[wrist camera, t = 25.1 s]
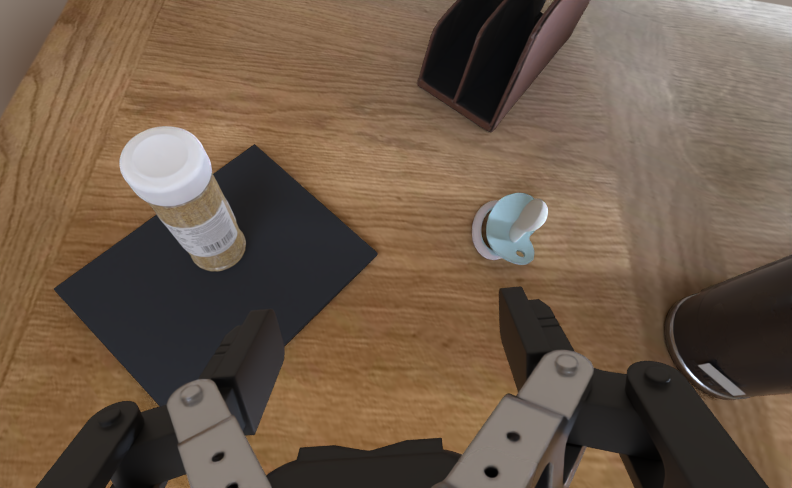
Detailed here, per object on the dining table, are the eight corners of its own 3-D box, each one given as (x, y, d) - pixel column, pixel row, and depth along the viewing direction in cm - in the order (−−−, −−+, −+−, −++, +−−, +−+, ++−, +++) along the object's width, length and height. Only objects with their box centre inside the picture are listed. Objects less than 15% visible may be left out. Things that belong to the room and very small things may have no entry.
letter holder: (568, 39, 54) (642, -84, 41) (490, 135, 46) (550, 21, 33) (502, -1, 55) (553, -132, 43) (414, 86, 48) (445, -42, 35)
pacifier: (463, 258, 40) (525, 277, 40) (482, 228, 34) (555, 250, 34) (478, 194, 43) (536, 211, 43) (498, 157, 37) (565, 177, 37)
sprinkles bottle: (238, 217, 38) (192, 114, 26) (253, 262, 36) (213, 176, 24) (183, 233, 37) (109, 134, 24) (197, 281, 35) (125, 200, 23)
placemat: (255, 147, 42) (254, 143, 41) (377, 255, 39) (377, 253, 38) (57, 291, 34) (52, 288, 34) (191, 438, 31) (188, 438, 31)
